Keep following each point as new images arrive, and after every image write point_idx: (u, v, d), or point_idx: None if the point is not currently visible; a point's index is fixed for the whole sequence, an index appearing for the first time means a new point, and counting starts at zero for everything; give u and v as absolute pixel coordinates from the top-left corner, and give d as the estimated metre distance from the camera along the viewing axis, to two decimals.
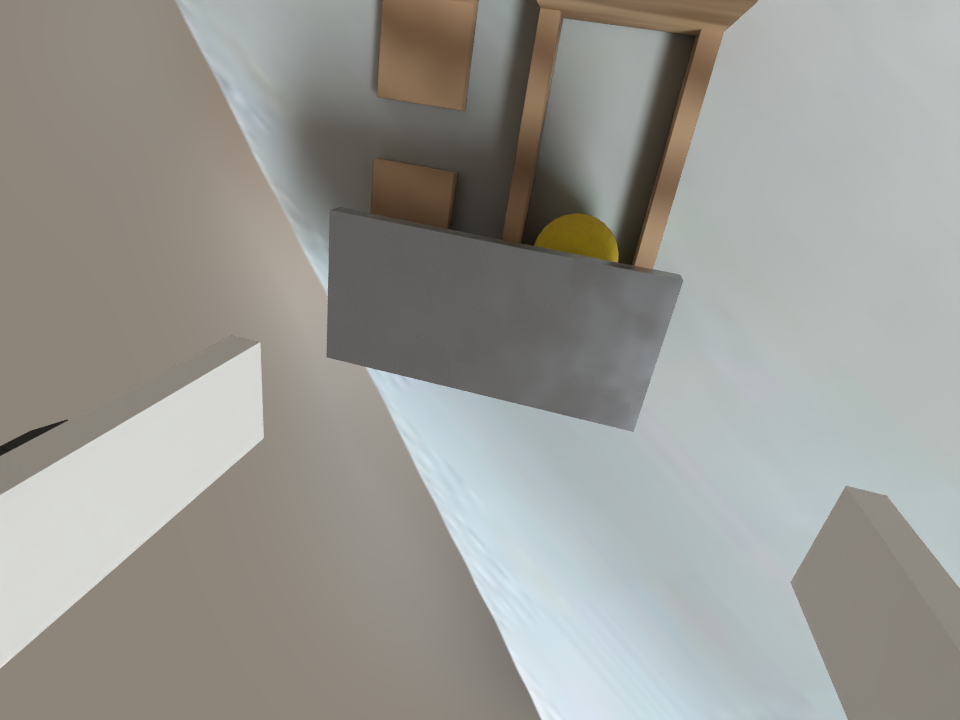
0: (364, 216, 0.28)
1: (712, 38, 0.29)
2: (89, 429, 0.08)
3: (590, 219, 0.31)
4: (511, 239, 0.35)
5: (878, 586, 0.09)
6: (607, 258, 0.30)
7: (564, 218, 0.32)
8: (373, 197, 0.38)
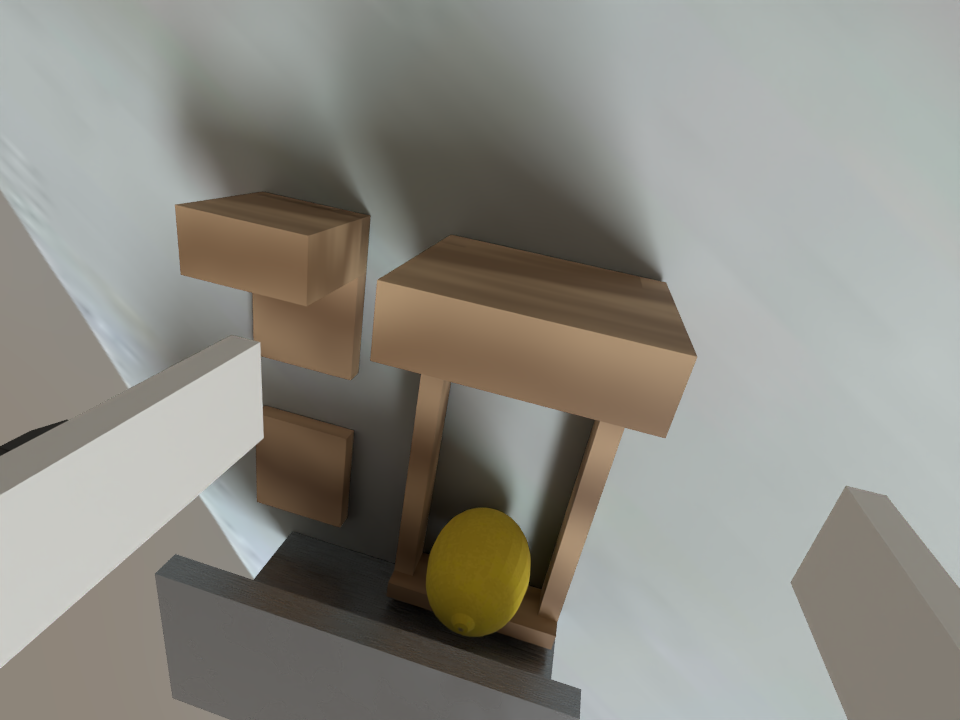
0: (196, 584, 0.22)
1: None
2: (89, 429, 0.08)
3: (492, 542, 0.26)
4: (412, 521, 0.30)
5: (878, 586, 0.09)
6: (509, 603, 0.25)
7: (462, 537, 0.26)
8: (258, 449, 0.32)
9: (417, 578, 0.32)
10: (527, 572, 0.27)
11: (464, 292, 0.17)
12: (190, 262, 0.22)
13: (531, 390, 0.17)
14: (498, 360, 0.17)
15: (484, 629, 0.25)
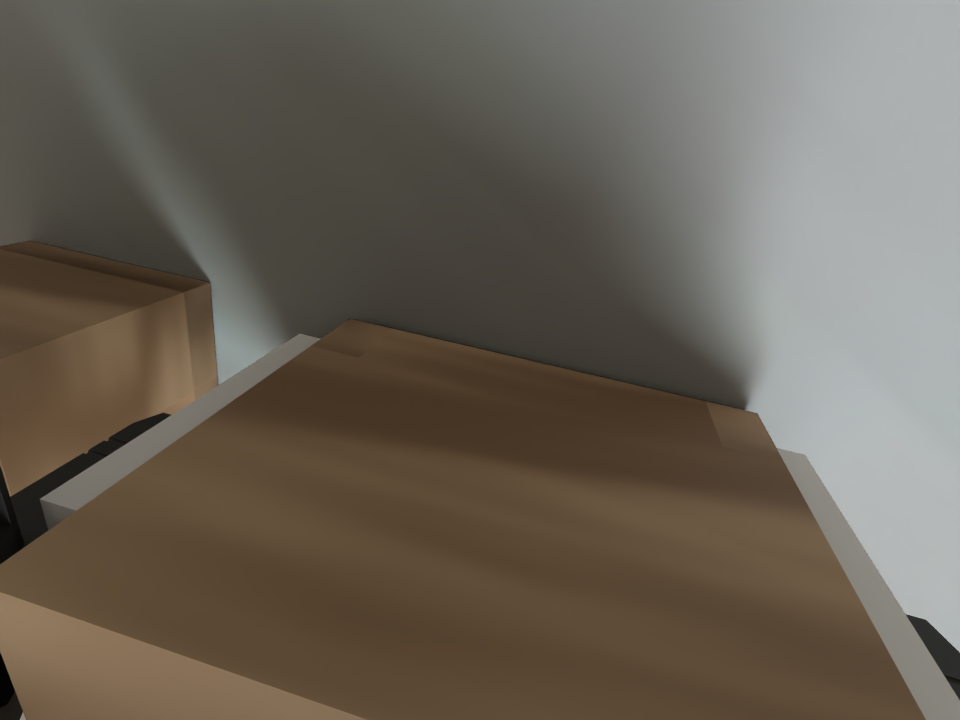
0: None
1: None
2: (197, 420, 0.09)
3: None
4: None
5: None
6: None
7: None
8: None
9: None
10: None
11: (258, 594, 0.06)
12: None
13: None
14: None
15: None
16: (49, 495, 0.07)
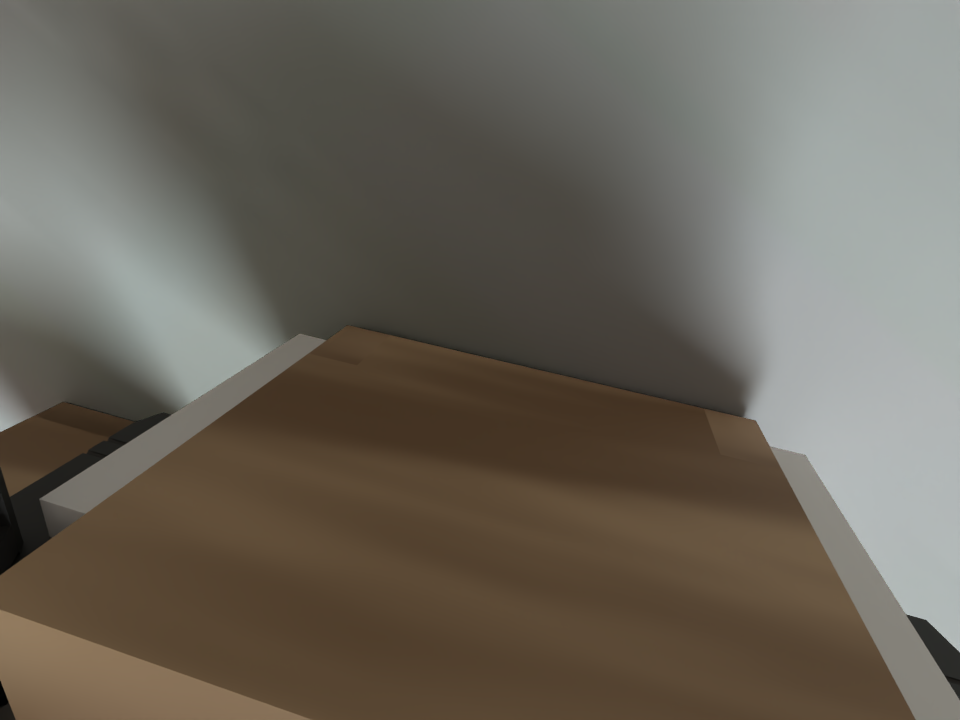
0: None
1: None
2: (196, 420, 0.09)
3: None
4: None
5: None
6: None
7: None
8: None
9: None
10: None
11: (254, 607, 0.06)
12: None
13: None
14: None
15: None
16: (48, 495, 0.07)
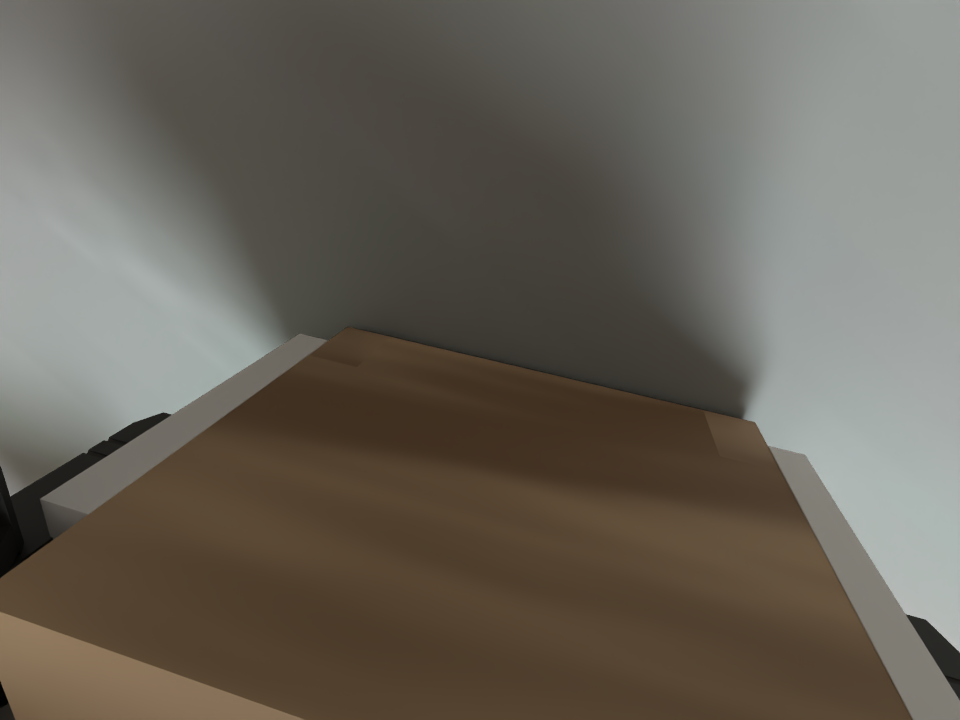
0: None
1: None
2: (197, 420, 0.09)
3: None
4: None
5: None
6: None
7: None
8: None
9: None
10: None
11: (255, 610, 0.06)
12: None
13: None
14: None
15: None
16: (49, 495, 0.07)
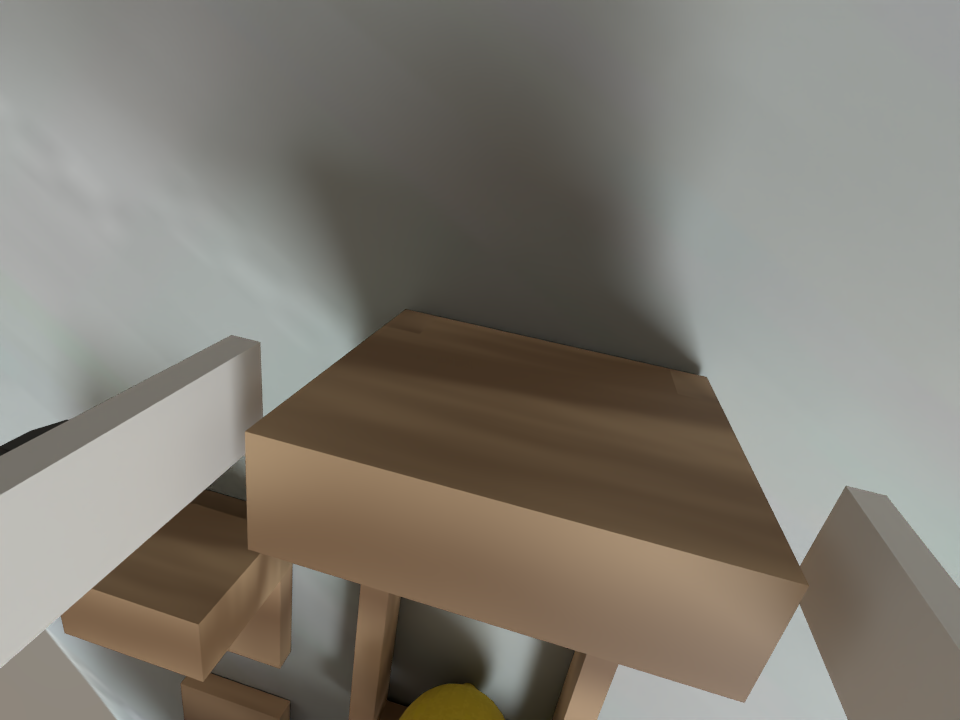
0: None
1: None
2: (89, 429, 0.08)
3: None
4: (366, 676, 0.23)
5: (878, 586, 0.09)
6: None
7: None
8: (186, 715, 0.29)
9: None
10: None
11: (396, 444, 0.10)
12: (74, 625, 0.19)
13: (510, 613, 0.10)
14: (454, 564, 0.10)
15: None
16: None
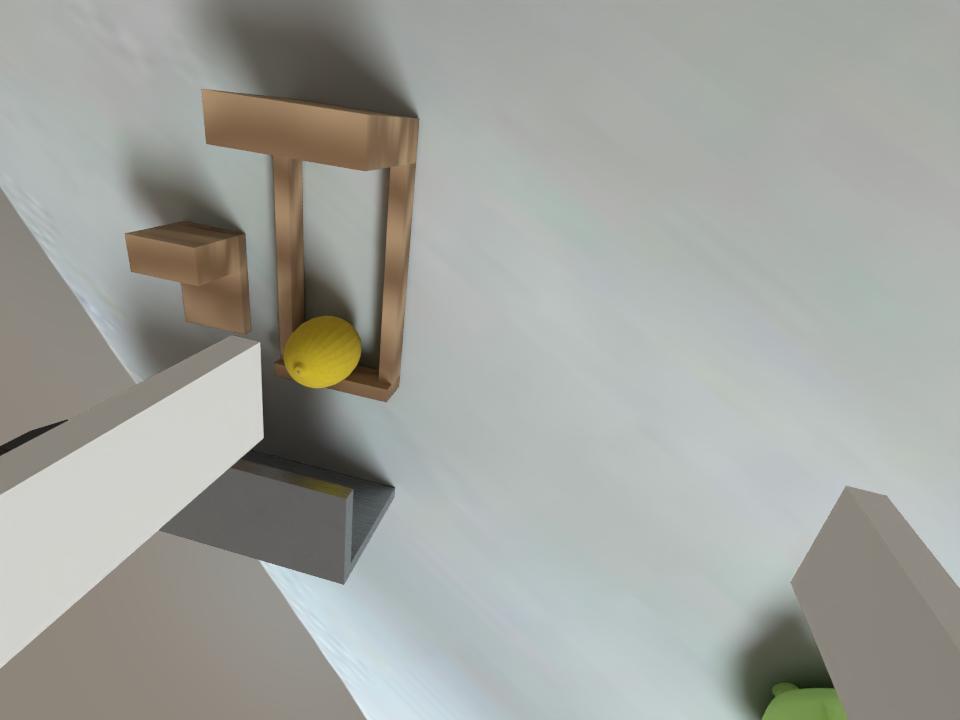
0: None
1: (399, 168, 0.36)
2: (89, 429, 0.08)
3: (324, 324, 0.40)
4: (286, 314, 0.43)
5: (878, 586, 0.09)
6: (332, 357, 0.39)
7: (305, 324, 0.40)
8: None
9: None
10: (351, 347, 0.41)
11: (253, 96, 0.30)
12: (135, 264, 0.40)
13: (292, 150, 0.30)
14: (272, 132, 0.30)
15: (316, 374, 0.39)
16: None
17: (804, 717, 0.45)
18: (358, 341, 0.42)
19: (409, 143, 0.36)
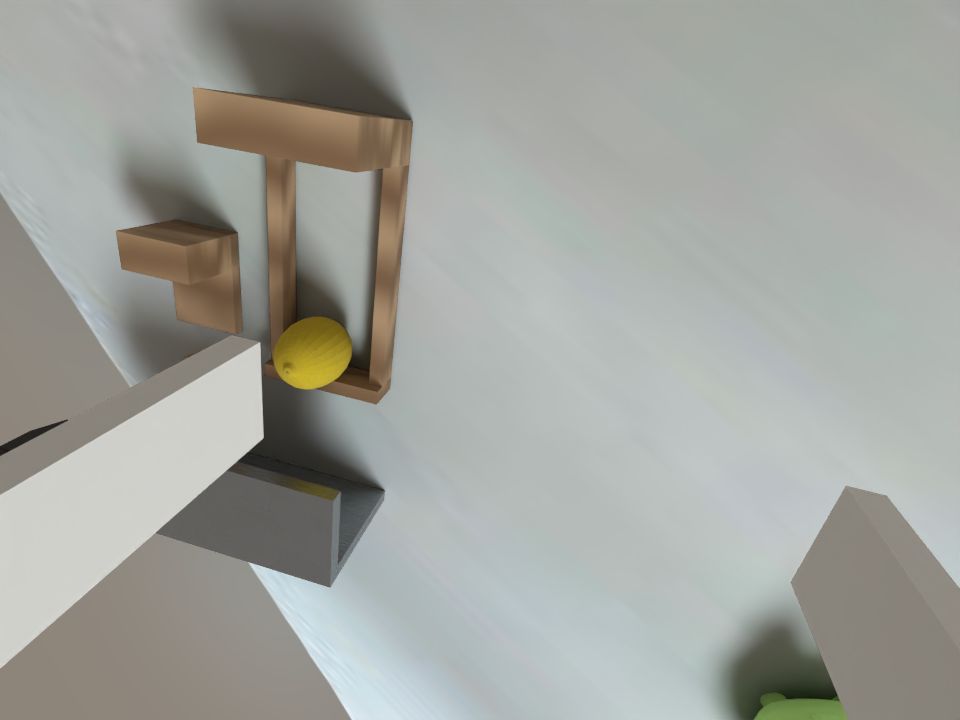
0: None
1: (392, 170, 0.36)
2: (89, 429, 0.08)
3: (314, 325, 0.40)
4: (277, 315, 0.43)
5: (878, 586, 0.09)
6: (321, 358, 0.39)
7: (295, 324, 0.40)
8: None
9: None
10: (341, 348, 0.40)
11: None
12: (126, 262, 0.40)
13: (283, 150, 0.30)
14: (263, 132, 0.30)
15: (305, 375, 0.38)
16: None
17: None
18: (349, 342, 0.42)
19: (402, 145, 0.36)
